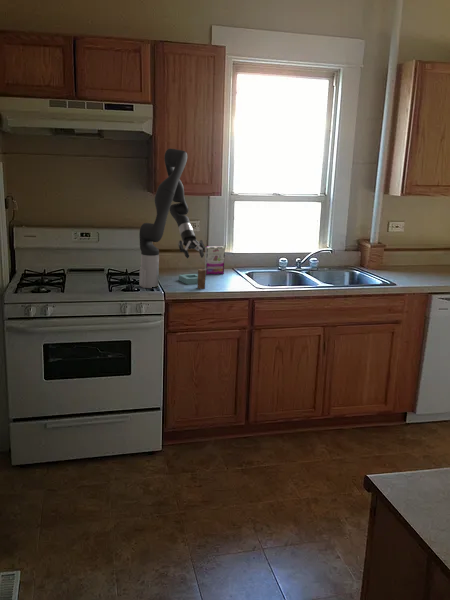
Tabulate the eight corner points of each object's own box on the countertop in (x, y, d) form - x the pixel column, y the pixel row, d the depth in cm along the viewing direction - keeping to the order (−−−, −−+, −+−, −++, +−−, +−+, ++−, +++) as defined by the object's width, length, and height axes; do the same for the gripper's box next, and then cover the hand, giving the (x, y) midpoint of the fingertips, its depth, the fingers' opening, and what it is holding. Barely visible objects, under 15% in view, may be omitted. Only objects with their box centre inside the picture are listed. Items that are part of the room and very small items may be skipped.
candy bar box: (221, 272, 345) (223, 246, 341) (224, 274, 341) (225, 247, 337) (204, 272, 342) (205, 245, 338) (205, 274, 338) (207, 247, 334)
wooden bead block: (186, 284, 309) (187, 278, 308) (178, 280, 318) (178, 274, 317) (204, 283, 314) (205, 277, 313) (196, 279, 323) (196, 273, 323)
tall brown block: (199, 288, 300) (200, 270, 297) (197, 287, 302) (198, 269, 300) (204, 288, 301) (205, 270, 299) (202, 287, 304) (203, 269, 301)
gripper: (177, 229, 306) (185, 253, 299) (201, 228, 312) (209, 252, 305) (173, 237, 311) (181, 261, 304) (196, 236, 318) (204, 260, 311)
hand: (195, 257), depth 305 cm, fingers open, 8 cm apart
